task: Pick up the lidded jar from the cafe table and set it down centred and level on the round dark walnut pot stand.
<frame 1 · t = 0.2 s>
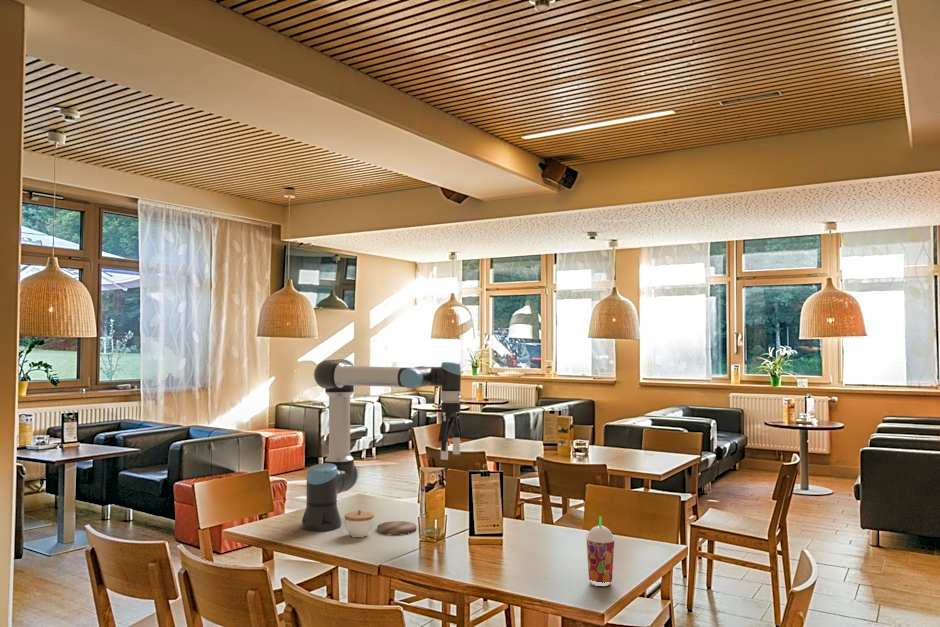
hand: (450, 456, 279), 28 cm above the table, tool pointing down, fingers open, 13 cm apart
lidded jar: (358, 536, 268), on the table
smoothie: (600, 584, 215), on the table
pot stand: (396, 529, 276), on the table
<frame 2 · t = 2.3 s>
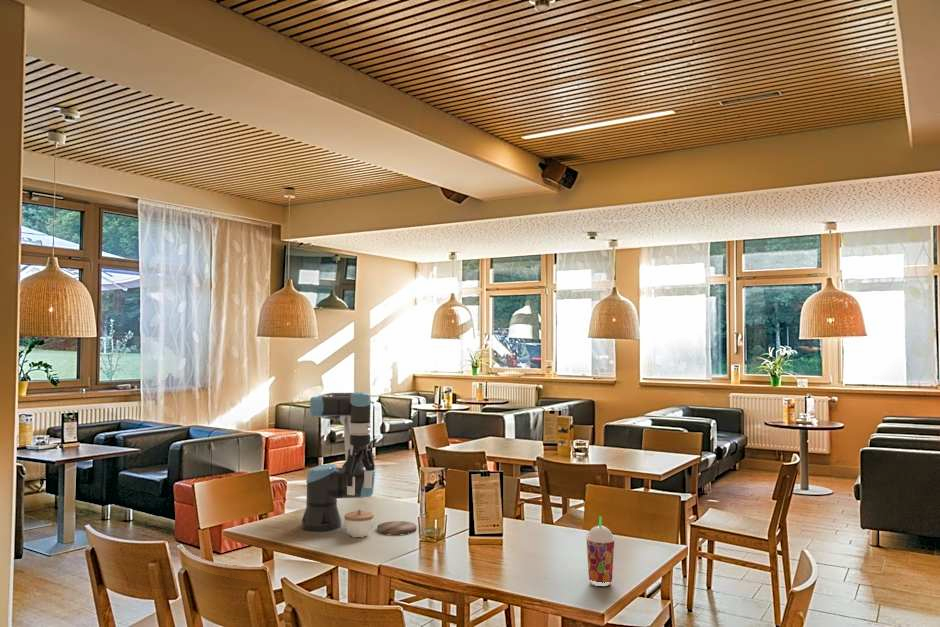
hand: (359, 491, 268), 16 cm above the table, tool pointing down, fingers open, 13 cm apart
nothing on the table moved.
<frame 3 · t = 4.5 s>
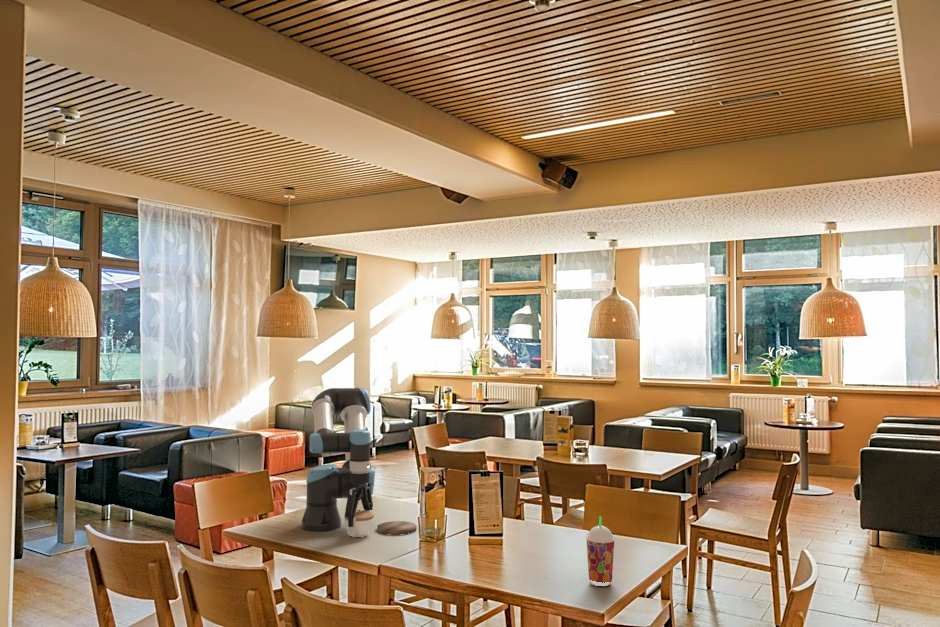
hand: (359, 531, 268), 1 cm above the table, tool pointing down, fingers closed on lidded jar, 11 cm apart
lidded jar: (358, 536, 268), on the table, touching gripper
everything else where it was.
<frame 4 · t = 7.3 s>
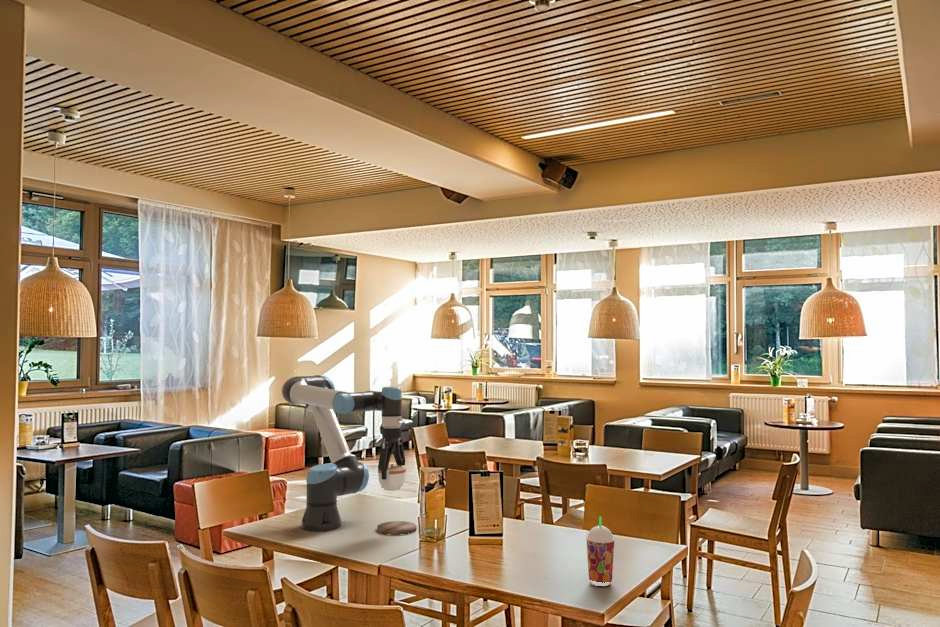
hand: (392, 485, 275), 17 cm above the table, tool pointing down, fingers closed on lidded jar, 11 cm apart
lidded jar: (392, 489, 275), point 16 cm above the table, touching gripper
everything else where it was.
when the fingers open (4 cm above the table, at t = 10.3 s): lidded jar stays where it is, resting on pot stand.
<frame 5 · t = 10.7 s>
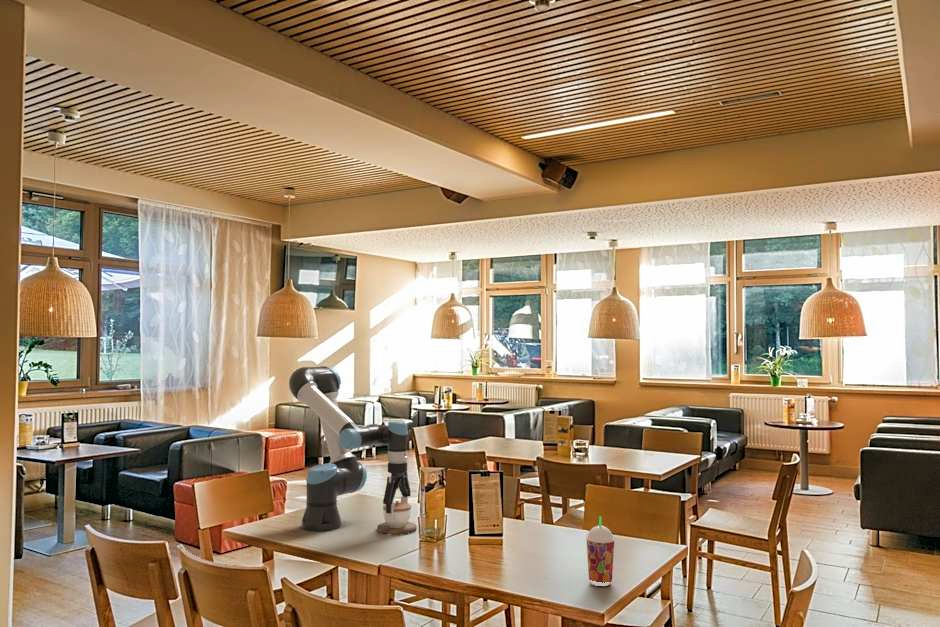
hand: (397, 517, 276), 5 cm above the table, tool pointing down, fingers open, 13 cm apart
lidded jar: (396, 526, 276), point 1 cm above the table, touching pot stand
everything else where it was.
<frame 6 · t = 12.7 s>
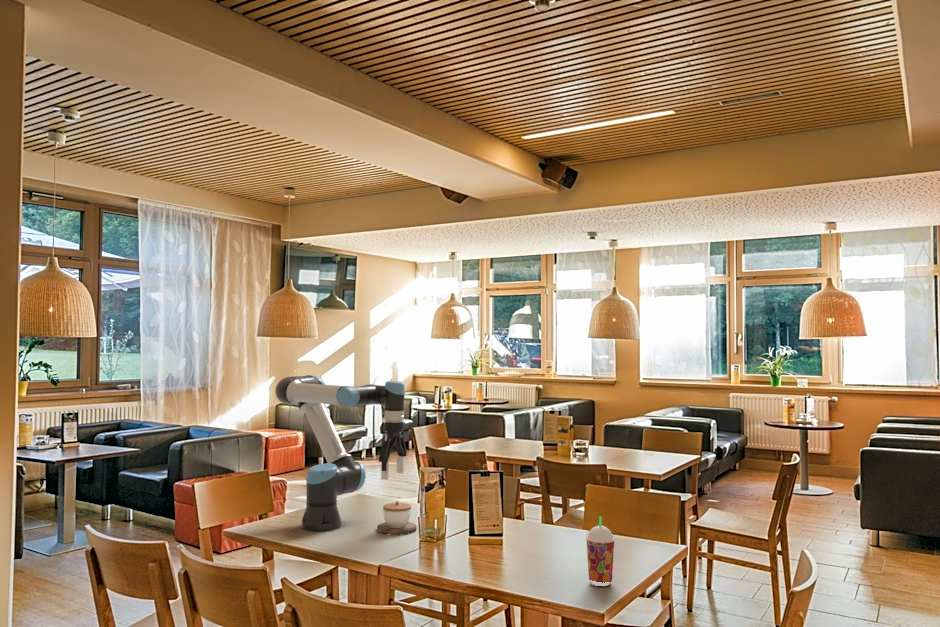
hand: (392, 476, 279), 20 cm above the table, tool pointing down, fingers open, 13 cm apart
nothing on the table moved.
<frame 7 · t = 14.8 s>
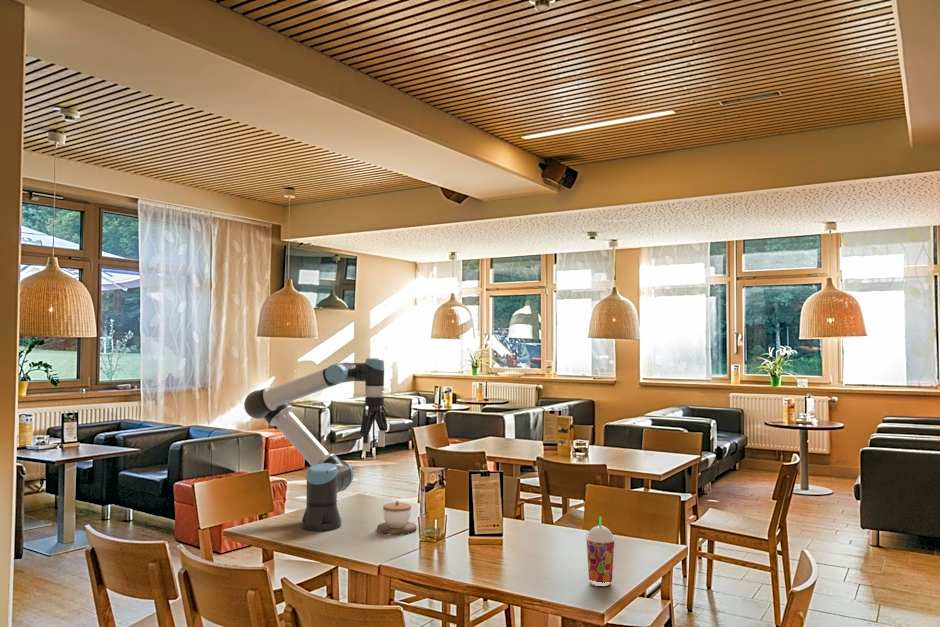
hand: (374, 448, 291), 29 cm above the table, tool pointing down, fingers open, 13 cm apart
nothing on the table moved.
at the end: lidded jar 0.0 cm from the pot stand (horizontally); lidded jar point 1.3 cm above the table; lidded jar tilted 0° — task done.
